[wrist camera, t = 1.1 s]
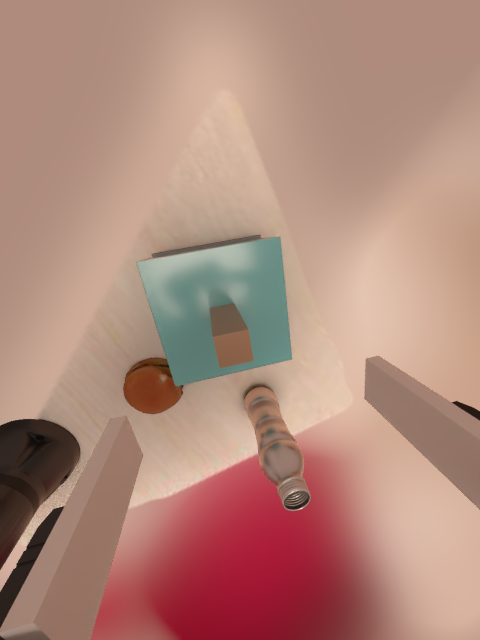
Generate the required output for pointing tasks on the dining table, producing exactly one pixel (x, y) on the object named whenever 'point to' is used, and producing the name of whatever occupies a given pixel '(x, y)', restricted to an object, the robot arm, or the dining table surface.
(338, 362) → the dining table surface
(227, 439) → the dining table surface
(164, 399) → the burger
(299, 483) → the plastic bottle
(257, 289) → the teal base with peg
